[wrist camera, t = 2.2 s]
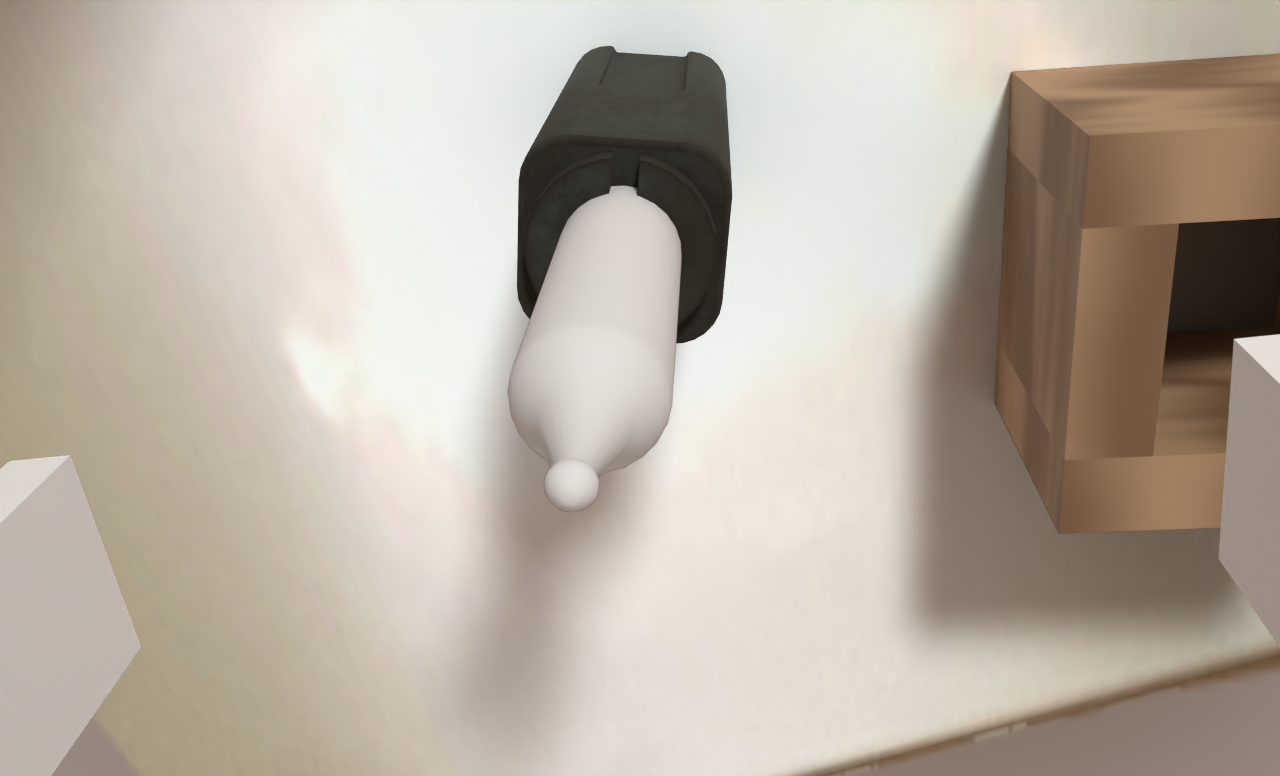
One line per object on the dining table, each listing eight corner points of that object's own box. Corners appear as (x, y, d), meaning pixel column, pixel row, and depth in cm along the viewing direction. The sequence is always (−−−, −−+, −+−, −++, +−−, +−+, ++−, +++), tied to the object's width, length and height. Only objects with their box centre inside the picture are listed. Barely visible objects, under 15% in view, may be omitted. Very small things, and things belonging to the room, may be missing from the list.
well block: (994, 403, 45) (1058, 533, 36) (1011, 71, 40) (1090, 135, 31) (1335, 388, 44) (1479, 517, 35) (1397, 46, 39) (1580, 105, 30)
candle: (728, 53, 40) (754, 356, 17) (715, 204, 42) (723, 649, 19) (573, 43, 40) (395, 329, 17) (568, 194, 42) (404, 624, 19)
